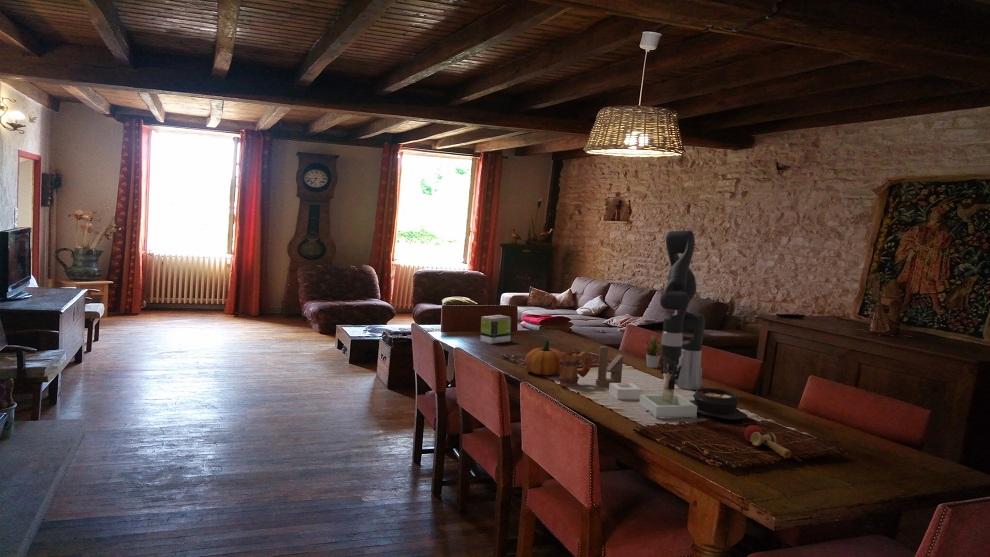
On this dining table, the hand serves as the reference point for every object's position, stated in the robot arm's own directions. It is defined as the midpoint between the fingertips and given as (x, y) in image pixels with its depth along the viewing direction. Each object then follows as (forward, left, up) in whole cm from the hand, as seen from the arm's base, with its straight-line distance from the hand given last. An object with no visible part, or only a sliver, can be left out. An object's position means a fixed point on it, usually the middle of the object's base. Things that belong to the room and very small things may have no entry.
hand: (668, 387), depth 247 cm
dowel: (0, 0, -6) cm, 6 cm away
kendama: (-16, +41, -10) cm, 45 cm away
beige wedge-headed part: (+11, -36, -10) cm, 39 cm away
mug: (+26, -38, -10) cm, 47 cm away
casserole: (-18, +3, -10) cm, 21 cm away
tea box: (+44, -138, -10) cm, 145 cm away
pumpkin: (+33, -62, -10) cm, 71 cm away
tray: (0, 0, -9) cm, 9 cm away
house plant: (-27, -75, -10) cm, 80 cm away
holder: (+10, -19, -9) cm, 23 cm away
